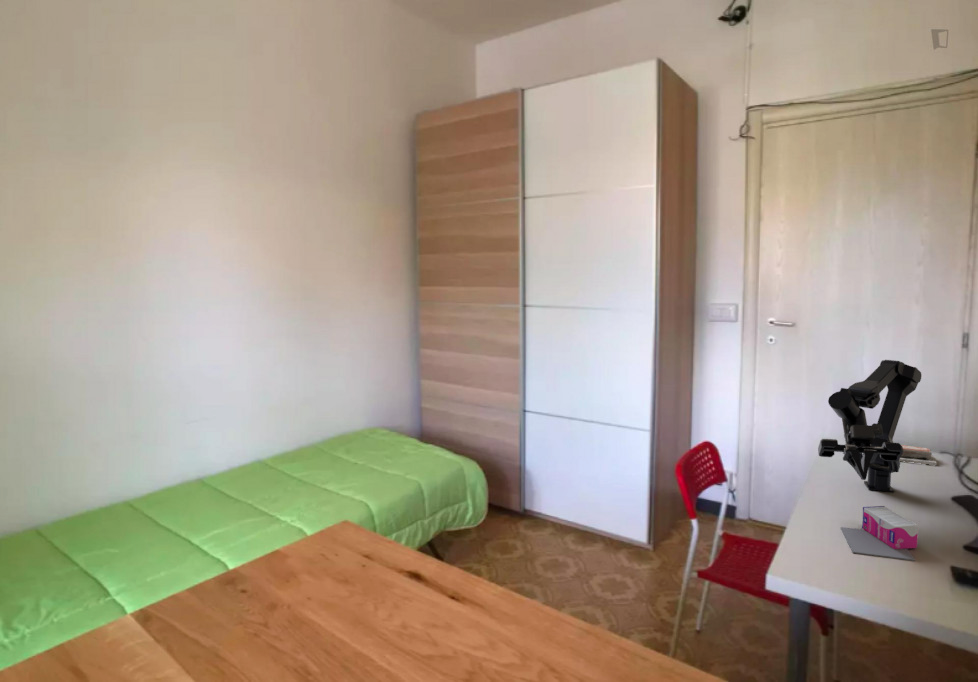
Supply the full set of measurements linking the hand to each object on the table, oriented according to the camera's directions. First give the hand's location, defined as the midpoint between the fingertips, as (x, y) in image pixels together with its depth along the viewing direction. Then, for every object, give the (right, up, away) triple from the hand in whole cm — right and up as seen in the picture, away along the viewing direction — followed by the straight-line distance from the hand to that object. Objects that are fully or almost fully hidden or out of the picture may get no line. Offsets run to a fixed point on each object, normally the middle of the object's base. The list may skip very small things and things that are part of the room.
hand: (864, 479), depth 150 cm
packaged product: (+45, -5, +48) cm, 66 cm away
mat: (-5, -13, -12) cm, 18 cm away
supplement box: (-1, -8, -5) cm, 10 cm away
